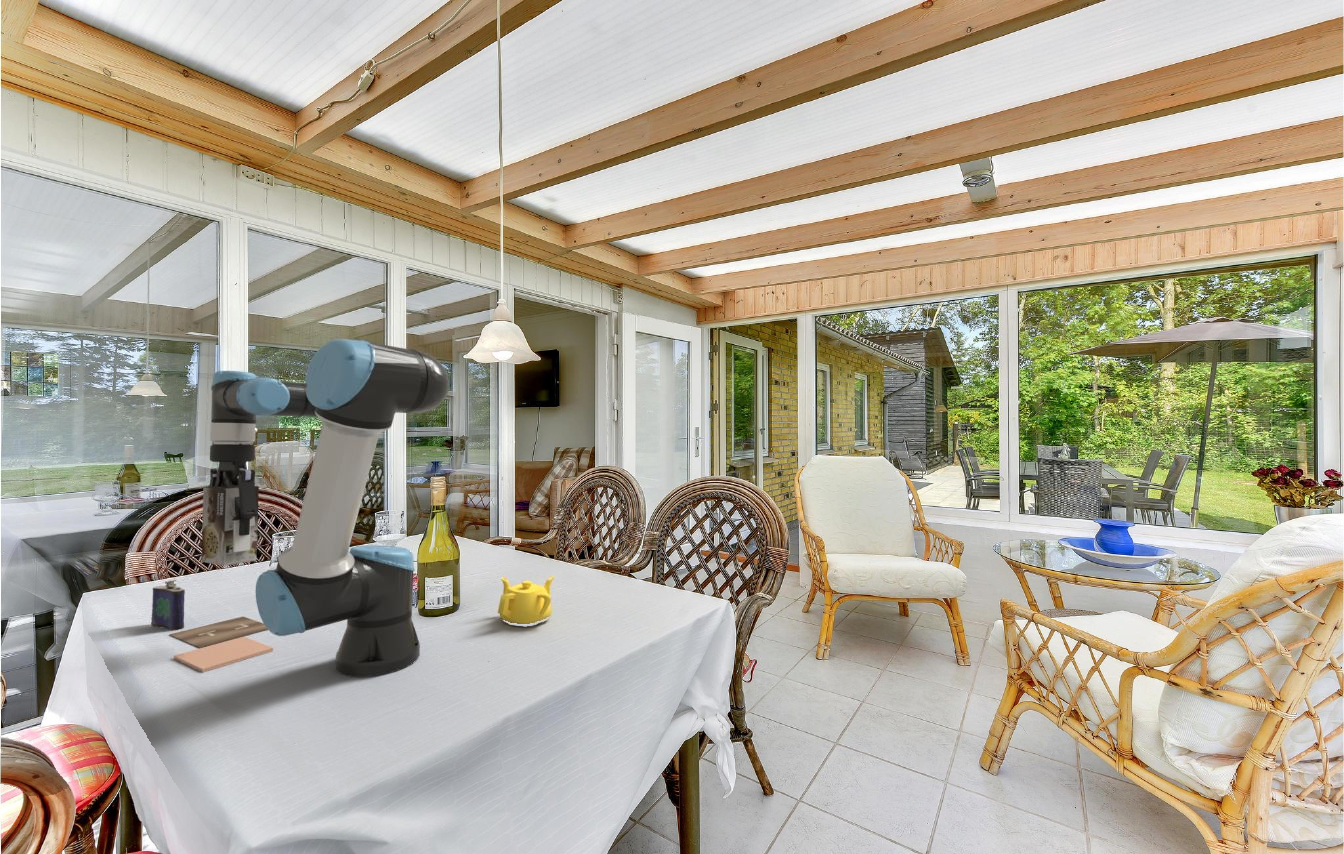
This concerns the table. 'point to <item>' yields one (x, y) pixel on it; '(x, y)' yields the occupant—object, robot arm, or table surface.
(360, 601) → the robot arm
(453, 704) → the table surface
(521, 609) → the teapot
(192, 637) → the mat
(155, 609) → the flask
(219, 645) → the pad
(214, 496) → the printed cardboard box
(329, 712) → the table surface
